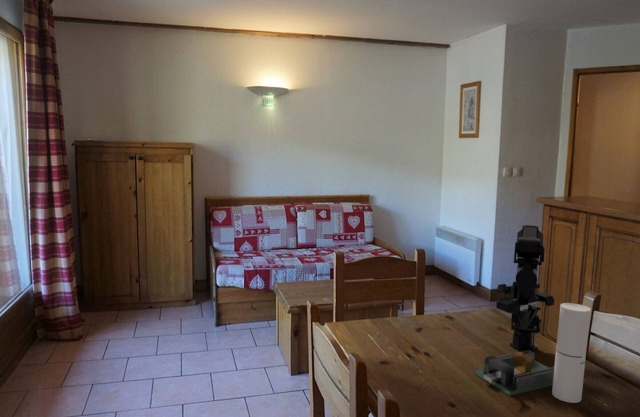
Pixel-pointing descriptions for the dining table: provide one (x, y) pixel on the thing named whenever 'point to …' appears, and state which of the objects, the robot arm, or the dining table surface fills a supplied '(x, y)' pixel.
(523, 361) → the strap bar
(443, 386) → the dining table surface
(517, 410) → the dining table surface
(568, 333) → the cylindrical container
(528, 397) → the dining table surface
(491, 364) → the green plate fixture
